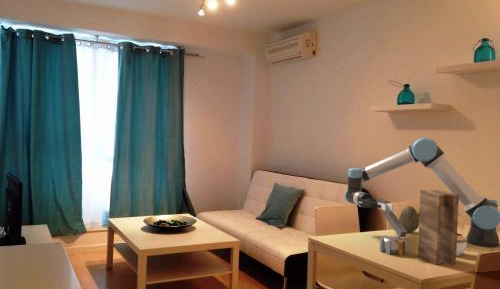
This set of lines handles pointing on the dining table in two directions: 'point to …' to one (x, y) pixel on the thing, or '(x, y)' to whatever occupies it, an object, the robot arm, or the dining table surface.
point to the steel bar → (392, 219)
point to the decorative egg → (409, 219)
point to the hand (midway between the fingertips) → (389, 207)
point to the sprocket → (393, 245)
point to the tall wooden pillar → (438, 226)
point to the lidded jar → (461, 245)
